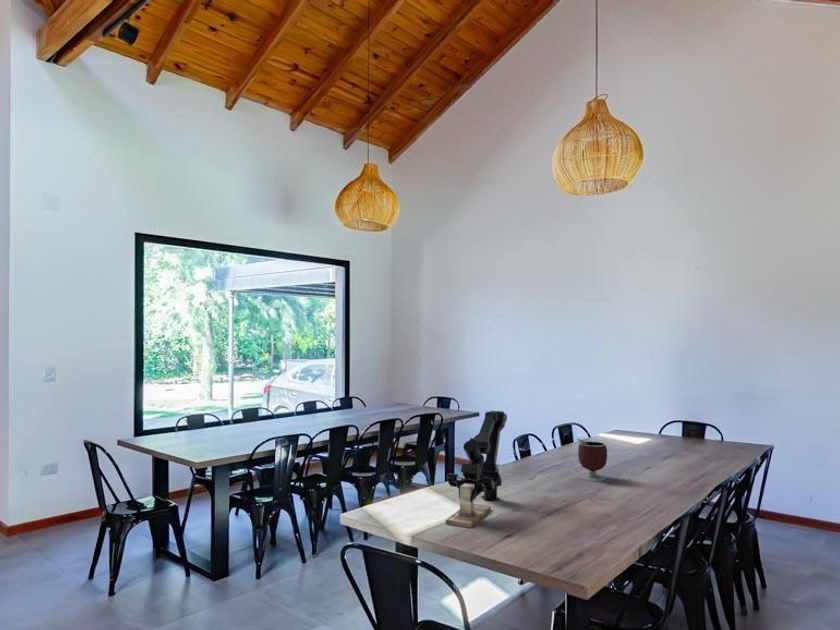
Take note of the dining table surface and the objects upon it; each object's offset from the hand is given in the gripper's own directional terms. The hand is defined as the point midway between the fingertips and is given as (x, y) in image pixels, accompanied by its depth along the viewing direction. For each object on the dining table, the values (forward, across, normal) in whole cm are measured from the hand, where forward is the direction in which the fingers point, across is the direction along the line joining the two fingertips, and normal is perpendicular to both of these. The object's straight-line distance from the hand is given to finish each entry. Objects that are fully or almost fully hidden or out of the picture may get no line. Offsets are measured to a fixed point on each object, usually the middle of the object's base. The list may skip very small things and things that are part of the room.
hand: (465, 501), depth 219 cm
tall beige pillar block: (+3, 0, +5) cm, 6 cm away
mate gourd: (-56, +35, +66) cm, 93 cm away
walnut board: (+2, 0, +8) cm, 8 cm away
